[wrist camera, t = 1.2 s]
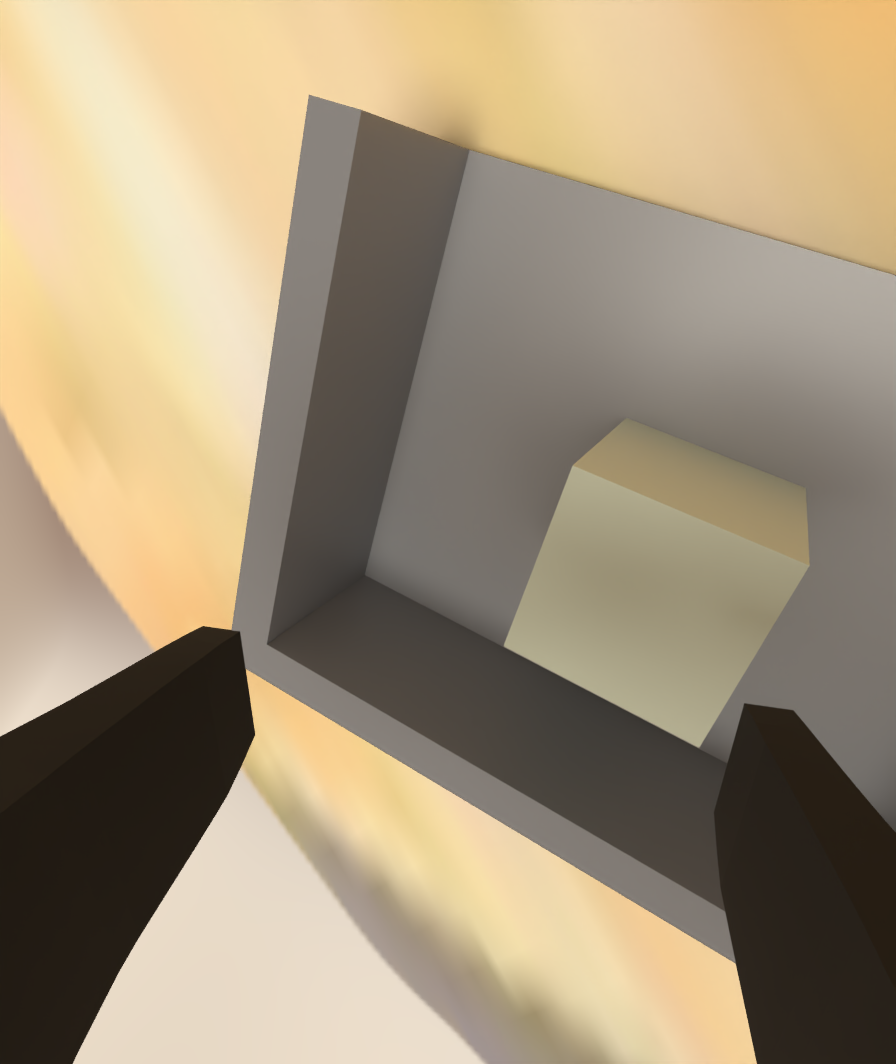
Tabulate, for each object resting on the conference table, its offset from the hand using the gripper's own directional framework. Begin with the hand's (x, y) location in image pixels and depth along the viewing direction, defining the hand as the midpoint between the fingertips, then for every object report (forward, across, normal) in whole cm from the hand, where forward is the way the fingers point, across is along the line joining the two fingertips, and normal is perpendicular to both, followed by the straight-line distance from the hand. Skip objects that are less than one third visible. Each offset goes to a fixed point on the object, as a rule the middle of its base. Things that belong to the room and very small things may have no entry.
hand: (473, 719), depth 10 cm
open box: (+10, -4, +1) cm, 11 cm away
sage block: (+9, -4, +1) cm, 10 cm away
